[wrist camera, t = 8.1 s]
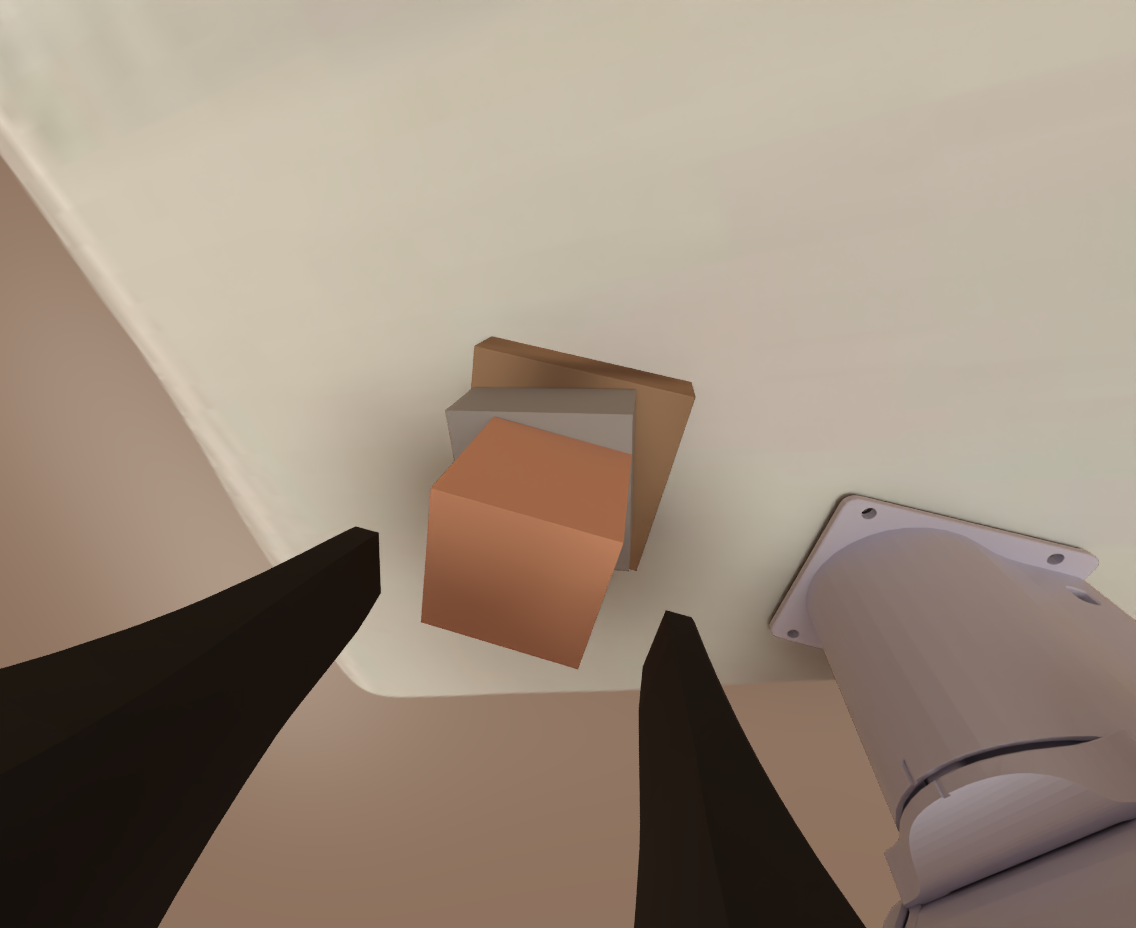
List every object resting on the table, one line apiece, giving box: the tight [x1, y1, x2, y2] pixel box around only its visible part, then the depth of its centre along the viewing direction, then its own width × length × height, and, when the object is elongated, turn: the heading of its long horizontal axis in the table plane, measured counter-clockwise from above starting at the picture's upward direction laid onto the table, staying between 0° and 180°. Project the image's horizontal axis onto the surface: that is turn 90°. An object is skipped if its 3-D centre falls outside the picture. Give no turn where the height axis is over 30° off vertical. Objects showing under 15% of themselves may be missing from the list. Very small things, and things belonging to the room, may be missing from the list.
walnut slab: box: [471, 337, 695, 571], centre depth 18 cm, size 8×8×2 cm
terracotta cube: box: [421, 417, 632, 669], centre depth 13 cm, size 4×4×4 cm
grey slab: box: [445, 387, 636, 571], centre depth 16 cm, size 6×6×2 cm
